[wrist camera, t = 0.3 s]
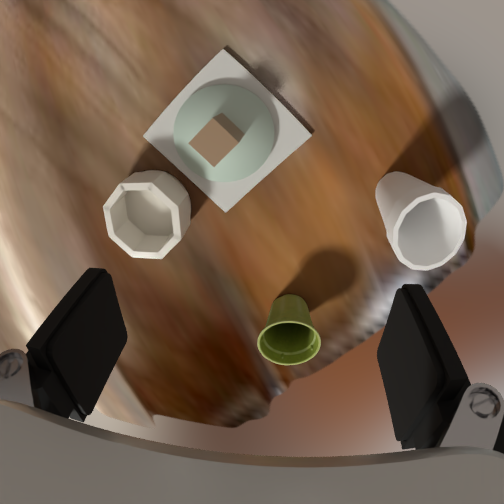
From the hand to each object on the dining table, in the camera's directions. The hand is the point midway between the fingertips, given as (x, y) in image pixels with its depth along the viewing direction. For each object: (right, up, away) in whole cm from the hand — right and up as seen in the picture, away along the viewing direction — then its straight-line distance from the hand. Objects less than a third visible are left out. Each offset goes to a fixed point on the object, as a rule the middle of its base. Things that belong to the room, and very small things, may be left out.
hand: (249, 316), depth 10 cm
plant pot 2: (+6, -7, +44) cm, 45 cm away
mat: (-4, +18, +30) cm, 35 cm away
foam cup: (+20, +10, +32) cm, 40 cm away
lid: (-4, +17, +30) cm, 35 cm away
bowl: (-14, +9, +36) cm, 40 cm away
